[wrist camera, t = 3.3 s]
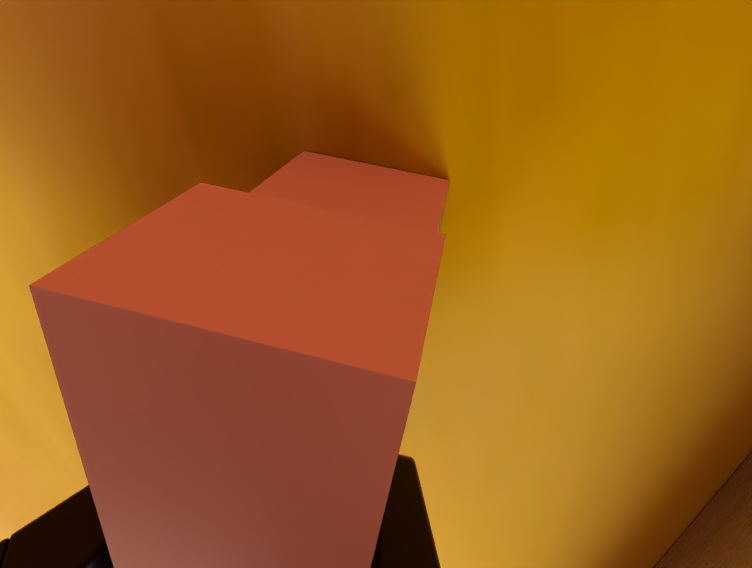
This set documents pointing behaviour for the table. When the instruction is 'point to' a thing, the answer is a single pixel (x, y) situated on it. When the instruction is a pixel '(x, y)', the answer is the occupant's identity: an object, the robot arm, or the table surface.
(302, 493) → the long coral brick
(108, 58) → the table surface
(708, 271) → the table surface
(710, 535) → the flat board
